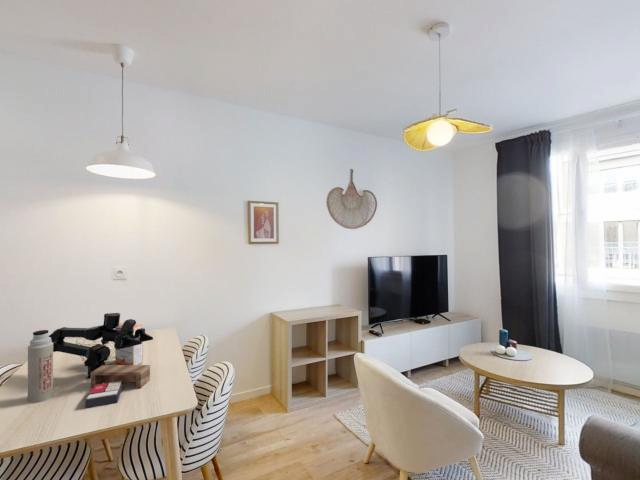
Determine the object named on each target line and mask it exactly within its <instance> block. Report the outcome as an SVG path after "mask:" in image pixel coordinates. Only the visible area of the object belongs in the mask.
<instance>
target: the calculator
mask: <svg viewBox="0 0 640 480" xmlns="http://www.w3.org/2000/svg"><path fill="white" fill-rule="evenodd" d="M123 389H124V382H123V381H116V382H104V383H102V384H96V385H95V386H94V387H93V388H92V389H91V390H90V392H89V393H88V395H87V397H86V398H85V399H84V408H85V409H91V408H96V407H97V408H98V407H103V406H108V405H113V404H118V403H119V400H120V397H121V394H122V392H123Z"/></svg>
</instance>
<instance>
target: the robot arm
mask: <svg viewBox="0 0 640 480" xmlns="http://www.w3.org/2000/svg"><path fill="white" fill-rule="evenodd" d="M120 320H121V313H120V312H110V313H104V315H103V324H102V325H97V326H92V327H67V326H66V327H65V326H64V327H61V328H57V329H55V330H54V331H53V332H51V334H49V337H51V340H52V341H51V342H53V353H54V352H55V353H56V352H60V353H63V354H69V355H74V356H79V357H84V358H86V359H85V361H84V362H83V364H84V366H85V367H87V376H85V379H91V372H92V371H94V370H95V369H97V368H99V367H100V366H102V365H106V361H108V360H109V357H110V355H111V349H110V347H109V346H107V344H108V343H111V342H112V343H113V345H114V346H113V347H114V349H123V348H127V347H131V346H135V345H139V344H142V342H143V343H144V342H149V341H152V340H153V339H154V337H153V336H152V335H149V334H148V333H146V328H144V327H143V328H140V329H137V330H136V331H135V335H133V334H132V333H133V330H132V329H133V327H134V326H135V324H137V321H136V319H132V318H130V319H125V320H124V321H123V323H124V324H123V325H122V327H121V330H116V329H115V328H116V327H117V326H119V324H120V322H121V321H120ZM66 338H84V339H85V340H87V341H92V342H94V341H97V340H99V339H101V340H100V342H101V343H96V344H94V345H92V346H88V345H83V344H77V343H72V342H68V341H65V339H66ZM121 345H122V346H121Z"/></svg>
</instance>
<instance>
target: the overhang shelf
mask: <svg viewBox="0 0 640 480" xmlns="http://www.w3.org/2000/svg"><path fill="white" fill-rule="evenodd" d="M116 381H123V383H124V382H125V383H126V382H127V383H135V382H136V386H135V388H136V389H141V388H143V387H144V386H146V385H147V384H148V382H149V381H151V365H150V364H140V365H123V364H118V365H117V364H105V365H102V366H100V367H99V368H97V369H95V370H94V371H92V372H91V378H90V389H91V390H92V388H93V387H94V386H95V385H96V384H103V382H104V383H110V382H116Z"/></svg>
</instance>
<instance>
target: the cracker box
mask: <svg viewBox="0 0 640 480" xmlns="http://www.w3.org/2000/svg"><path fill="white" fill-rule="evenodd" d="M123 324H124V322H121V323H120V322H119V326H117V327H116V328H115V329H116V330H121V327H122V325H123ZM140 328H144V325H142V324H137V323H136V324H135V326H134V327H133V329H132V330H133V333H132V334H133V335H135V331H136V330H137V329H140ZM143 343H144V342H142V344H139V345H135V346H131V347H127V348H123V349H115V348H114V349H115V351H114V352H115V353H114V354H115V359H114V361H115V364H118V365H143V363H144V359H143V358H144V348H143V347H144V344H143ZM121 346H122V345H121Z"/></svg>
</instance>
